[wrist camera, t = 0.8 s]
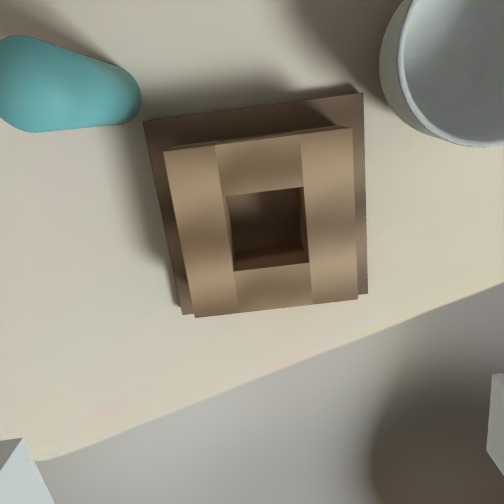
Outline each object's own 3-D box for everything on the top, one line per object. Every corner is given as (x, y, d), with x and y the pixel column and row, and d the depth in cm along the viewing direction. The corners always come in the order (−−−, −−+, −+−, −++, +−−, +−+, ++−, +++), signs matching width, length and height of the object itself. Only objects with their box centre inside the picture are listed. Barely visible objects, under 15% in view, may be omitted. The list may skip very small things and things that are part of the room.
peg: (79, 69, 28) (-32, 41, 17) (134, 62, 28) (59, 29, 17) (93, 127, 30) (-1, 137, 18) (146, 120, 29) (83, 126, 18)
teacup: (482, 148, 31) (559, 160, 23) (346, 127, 30) (380, 133, 22) (553, -68, 26) (679, -141, 18) (394, -98, 25) (457, -187, 18)
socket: (145, 120, 29) (124, 122, 24) (359, 93, 29) (384, 89, 24) (184, 309, 35) (173, 344, 30) (364, 288, 34) (385, 320, 29)
